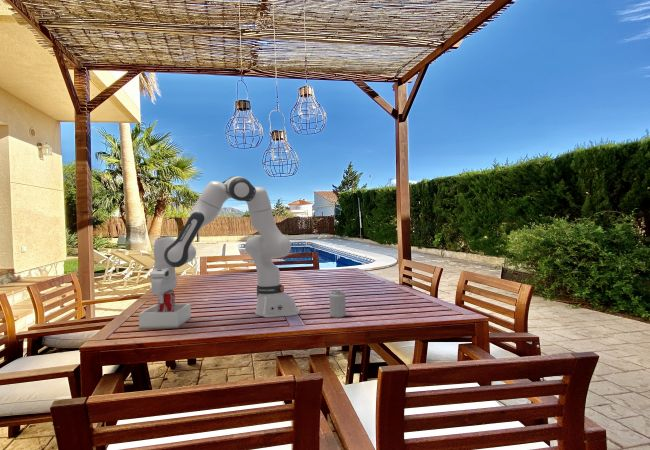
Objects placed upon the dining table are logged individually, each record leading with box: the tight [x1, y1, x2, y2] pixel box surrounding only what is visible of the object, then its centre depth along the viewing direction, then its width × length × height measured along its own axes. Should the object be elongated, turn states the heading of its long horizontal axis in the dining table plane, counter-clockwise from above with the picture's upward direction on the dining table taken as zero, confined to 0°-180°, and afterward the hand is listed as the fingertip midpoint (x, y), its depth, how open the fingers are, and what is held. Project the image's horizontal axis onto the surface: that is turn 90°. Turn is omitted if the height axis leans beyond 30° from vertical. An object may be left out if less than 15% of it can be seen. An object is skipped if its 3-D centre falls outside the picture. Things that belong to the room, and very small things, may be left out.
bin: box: [138, 303, 192, 330], centre depth 174 cm, size 17×17×7 cm
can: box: [329, 289, 347, 319], centre depth 179 cm, size 8×8×12 cm
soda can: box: [157, 289, 176, 312], centre depth 174 cm, size 7×7×12 cm
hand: (165, 301), depth 174 cm, fingers closed on soda can, 7 cm apart
